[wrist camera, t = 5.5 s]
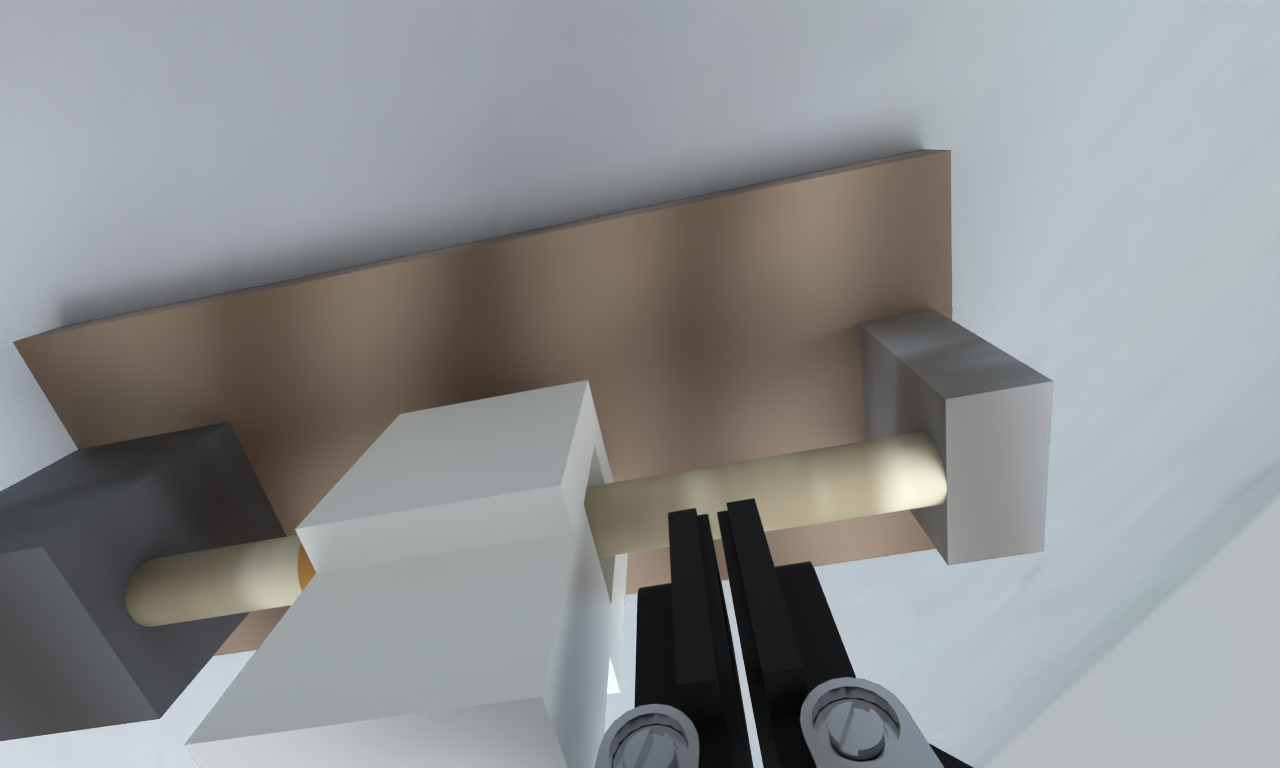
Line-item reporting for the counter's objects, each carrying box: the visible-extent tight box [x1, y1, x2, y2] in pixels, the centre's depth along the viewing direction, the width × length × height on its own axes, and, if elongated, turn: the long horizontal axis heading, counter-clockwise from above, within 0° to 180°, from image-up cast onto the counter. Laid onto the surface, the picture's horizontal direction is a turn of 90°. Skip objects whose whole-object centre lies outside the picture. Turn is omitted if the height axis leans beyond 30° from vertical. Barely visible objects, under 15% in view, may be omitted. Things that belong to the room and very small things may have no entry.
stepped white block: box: [184, 380, 628, 768], centre depth 12 cm, size 5×5×8 cm
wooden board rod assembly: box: [0, 149, 1053, 741], centre depth 16 cm, size 26×12×8 cm, turn 101°
